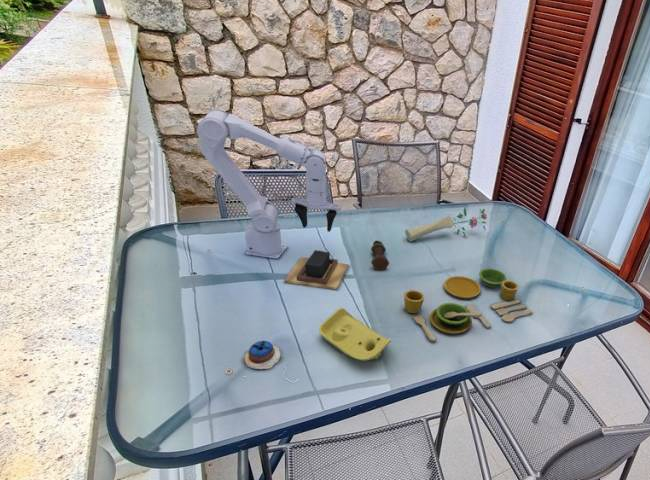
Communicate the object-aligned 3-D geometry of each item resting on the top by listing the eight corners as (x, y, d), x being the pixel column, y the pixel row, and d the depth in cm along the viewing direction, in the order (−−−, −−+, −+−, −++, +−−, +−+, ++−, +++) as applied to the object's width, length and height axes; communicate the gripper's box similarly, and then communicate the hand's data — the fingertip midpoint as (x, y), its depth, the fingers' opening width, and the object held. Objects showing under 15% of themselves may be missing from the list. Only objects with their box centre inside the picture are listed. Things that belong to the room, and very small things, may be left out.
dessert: (248, 343, 103) (262, 330, 101) (274, 355, 106) (287, 342, 105) (236, 368, 97) (250, 355, 95) (264, 380, 100) (278, 367, 98)
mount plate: (284, 282, 127) (284, 275, 125) (301, 259, 138) (300, 253, 137) (336, 289, 129) (336, 283, 128) (348, 266, 141) (348, 260, 140)
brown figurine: (379, 252, 156) (382, 273, 144) (367, 246, 153) (369, 266, 141) (388, 240, 154) (391, 260, 143) (376, 234, 151) (378, 254, 140)
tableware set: (427, 345, 118) (430, 328, 114) (388, 291, 134) (389, 274, 131) (537, 315, 142) (542, 300, 139) (492, 272, 159) (496, 258, 156)
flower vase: (407, 252, 171) (477, 226, 189) (420, 259, 162) (493, 231, 179) (399, 225, 166) (473, 201, 183) (412, 230, 157) (488, 205, 174)
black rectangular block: (305, 278, 129) (305, 264, 126) (315, 263, 137) (314, 250, 134) (321, 280, 130) (320, 266, 127) (329, 265, 137) (329, 252, 135)
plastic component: (315, 329, 109) (343, 303, 114) (327, 344, 115) (354, 318, 120) (365, 366, 101) (394, 335, 106) (376, 379, 107) (403, 350, 111)
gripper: (343, 189, 136) (343, 226, 143) (296, 180, 134) (298, 219, 141) (337, 197, 130) (337, 236, 137) (288, 188, 128) (290, 228, 135)
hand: (317, 228), depth 139 cm, fingers open, 7 cm apart
